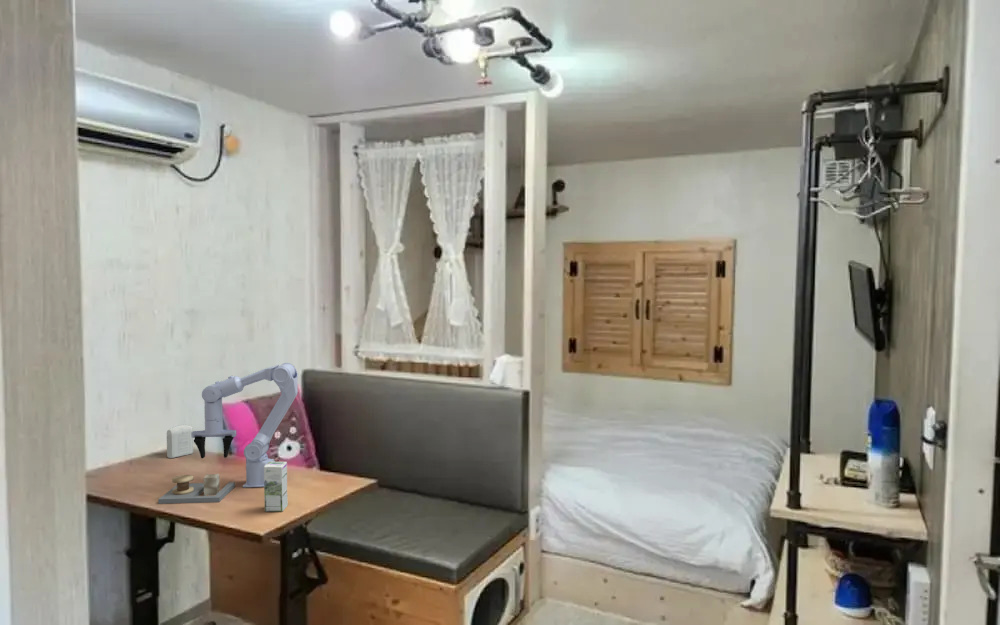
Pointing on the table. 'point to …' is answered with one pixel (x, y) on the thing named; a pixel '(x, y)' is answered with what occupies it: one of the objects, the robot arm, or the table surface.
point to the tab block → (211, 484)
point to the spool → (182, 485)
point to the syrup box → (275, 486)
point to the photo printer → (179, 441)
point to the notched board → (195, 495)
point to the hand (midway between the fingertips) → (214, 457)
